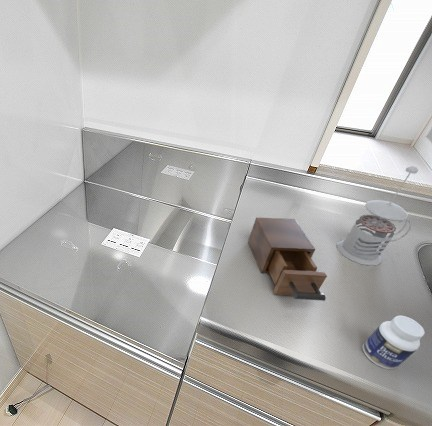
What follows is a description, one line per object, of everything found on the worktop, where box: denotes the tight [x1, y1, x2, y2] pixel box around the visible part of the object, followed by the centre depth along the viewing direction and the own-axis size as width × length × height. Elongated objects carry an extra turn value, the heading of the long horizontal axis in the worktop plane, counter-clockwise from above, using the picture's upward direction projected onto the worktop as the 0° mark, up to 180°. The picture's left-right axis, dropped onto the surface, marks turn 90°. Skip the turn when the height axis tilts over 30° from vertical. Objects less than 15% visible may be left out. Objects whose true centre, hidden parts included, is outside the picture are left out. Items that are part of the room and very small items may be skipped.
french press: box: [336, 165, 419, 266], centre depth 70 cm, size 10×12×25 cm
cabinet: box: [247, 217, 316, 275], centre depth 74 cm, size 12×10×9 cm
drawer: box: [267, 250, 328, 302], centre depth 66 cm, size 15×8×7 cm, turn 175°
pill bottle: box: [362, 315, 425, 370], centre depth 52 cm, size 5×5×10 cm
